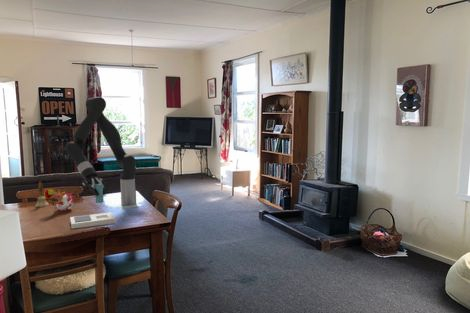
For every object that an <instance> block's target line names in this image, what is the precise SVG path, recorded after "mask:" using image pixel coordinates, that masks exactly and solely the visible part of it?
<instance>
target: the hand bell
mask: <svg viewBox="0 0 470 313" xmlns="http://www.w3.org/2000/svg"><path fill="white" fill-rule="evenodd" d="M37 186H38V191H39V197H37V201H36V204H35V206H34V207H36V208H44V207H48V206H49V205H50V204H49V203H48V202H47V200H46V198H45V196H44V193H43V188H44V185H43V183H42V181H39V182H38V185H37Z"/></svg>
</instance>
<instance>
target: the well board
mask: <svg viewBox="0 0 470 313" xmlns="http://www.w3.org/2000/svg"><path fill="white" fill-rule="evenodd" d="M89 215H90V217H91V221H83V222H75V219H74V217H78V216H79V215H77V216H70V217H69V220H70V226H71V229H79V228H87V227H94V226H95V227H96V226H102V225H111V224H115V223H116V217H115V216H114V214H113V213H112V212H111V211H110V212H103V213H95V214H93V213H92V214H89ZM84 216H87V214H86V215H84Z"/></svg>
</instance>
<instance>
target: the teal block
mask: <svg viewBox="0 0 470 313" xmlns="http://www.w3.org/2000/svg"><path fill="white" fill-rule="evenodd" d="M95 189H97V191H98V193H99V195H98V196H96V195H95V203H96V204H102V203H104V195H103V184H95Z"/></svg>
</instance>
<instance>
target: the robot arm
mask: <svg viewBox="0 0 470 313" xmlns="http://www.w3.org/2000/svg"><path fill="white" fill-rule="evenodd" d="M85 107H86V110H87V111H88V114H87V116H86V117H85V118H84V119H83V120H82V121H81V122H80V124H79V125H78V127H77V129H76V130H75V132H74V134H73V139H74V141H69V142H68V143H66V145H65V152H66V153H67V154H68V155H69V157H70V158H71V159H72V161H73V162H74V165H75V166H76V168H77V169H78V172H79V174H80V175H81V178H82V179H83V181H82V183H81V185H82V187H84V188H85V189H86V190H87V191H88V192H92V193H93V195H95V197H96V196H98V195H99V193H98V191H97V189H95V184H103V196H104V195H107V190H106V189H105V188H106V187H107V182H106V179H105V177H102V178H100V177H99V176H98V173H97V171H96V169H95V168H94V167H93V165H92V164H91V163H90V161H89V160H88V158H87V157H86V155H85V154H84V153H83V152H84V149H85V144H86V140H87V138H88V137H89V135H90V132H91V131H92V129H93V127H94V125H95V124H96V125H97V127H98V128H99V130H100V132H101V134H102V136H103V137H104V139H105V141H106V143H107V144H108V146H109V149H110V150H111V152H112V153H113V156H114V157H115V160H116V162H117V165H118V166H119V167H120V168H122V173H121V174H120V178H119V179H120V203H121V205H122V206H132V205H136V204H137V190H136V182H135V181H136V179H135V178H136V173H137V163H136V162H137V161H136V159H135V157H134V156H133V155H130V154H127V152H126V151H125V150H124V148H123V144H122V138H121V135H120V133H119V130H118V128H117V126H115V124H113V123H112V122H111V121H110V119H108V118H107V117H106V116H105V114H104V111H105V109H106V108H107V101H106V99H104V97H101V96H95V97H90V98H87V100H86V101H85Z"/></svg>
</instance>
